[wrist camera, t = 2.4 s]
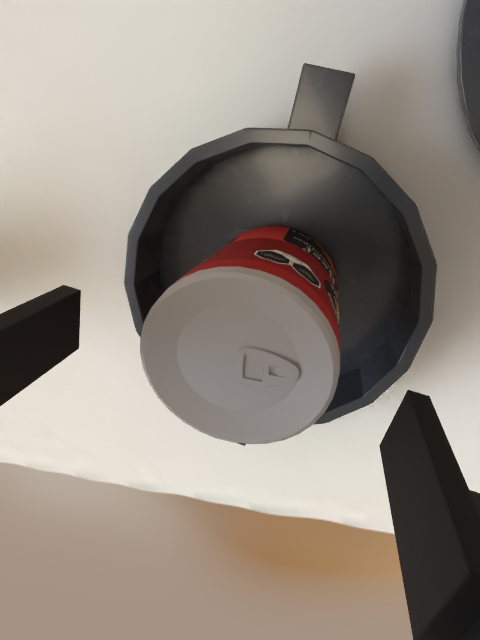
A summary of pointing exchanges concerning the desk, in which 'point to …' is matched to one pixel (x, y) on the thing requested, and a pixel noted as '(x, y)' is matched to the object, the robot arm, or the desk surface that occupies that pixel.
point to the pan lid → (470, 66)
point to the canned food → (248, 338)
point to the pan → (307, 217)
